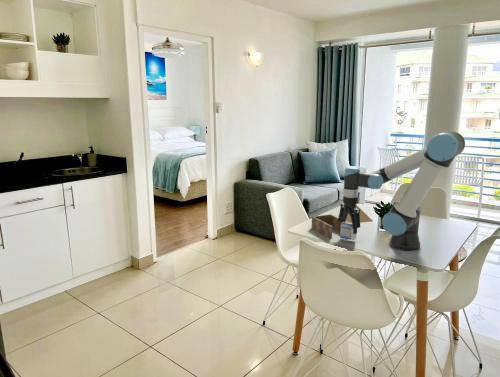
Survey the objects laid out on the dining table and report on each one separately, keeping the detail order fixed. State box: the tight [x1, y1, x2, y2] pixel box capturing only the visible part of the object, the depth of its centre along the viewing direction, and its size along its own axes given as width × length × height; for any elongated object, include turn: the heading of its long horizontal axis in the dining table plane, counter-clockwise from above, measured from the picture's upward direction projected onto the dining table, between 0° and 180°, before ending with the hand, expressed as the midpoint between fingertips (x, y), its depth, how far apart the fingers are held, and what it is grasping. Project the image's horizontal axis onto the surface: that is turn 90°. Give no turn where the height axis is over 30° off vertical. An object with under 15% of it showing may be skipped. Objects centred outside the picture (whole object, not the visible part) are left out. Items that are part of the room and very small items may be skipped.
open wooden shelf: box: [311, 213, 341, 239], centre depth 222 cm, size 20×13×7 cm, turn 23°
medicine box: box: [339, 220, 356, 241], centre depth 206 cm, size 8×4×9 cm, turn 62°
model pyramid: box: [337, 204, 374, 224], centre depth 246 cm, size 17×17×10 cm
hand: (348, 236), depth 207 cm, fingers closed on medicine box, 9 cm apart
